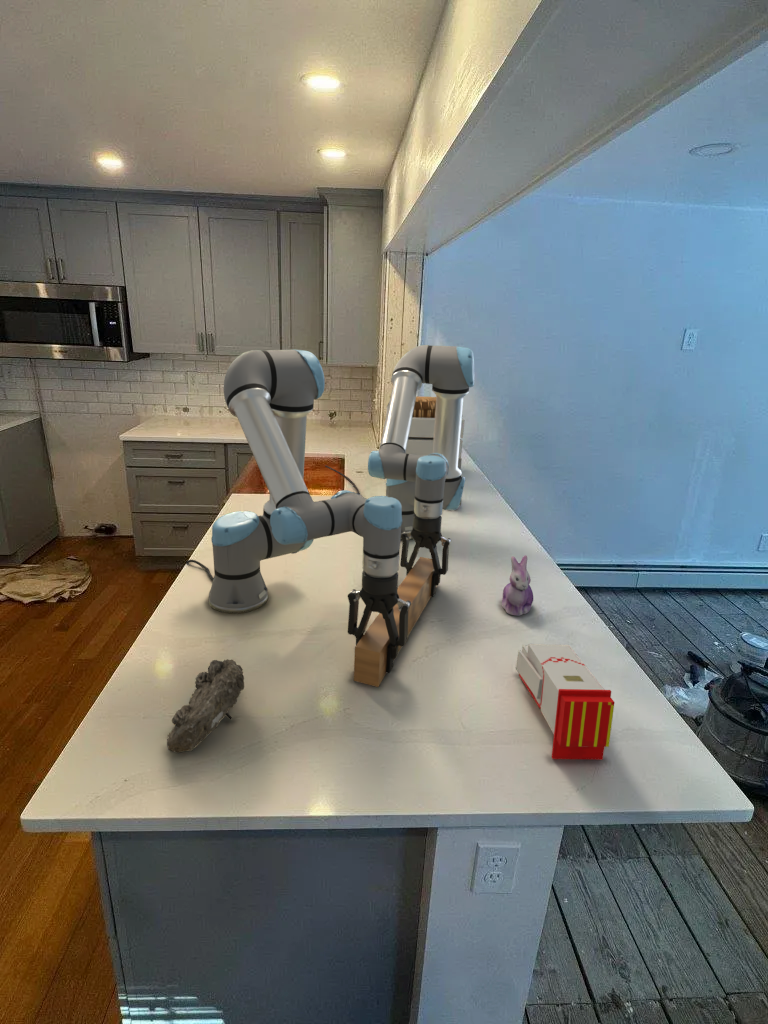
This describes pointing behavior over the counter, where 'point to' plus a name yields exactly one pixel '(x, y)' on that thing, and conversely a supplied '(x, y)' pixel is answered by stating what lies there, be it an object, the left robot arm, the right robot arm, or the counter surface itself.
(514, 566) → the figurine
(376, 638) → the beam
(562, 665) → the toy
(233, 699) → the fossil
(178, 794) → the counter surface
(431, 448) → the firewood crate
